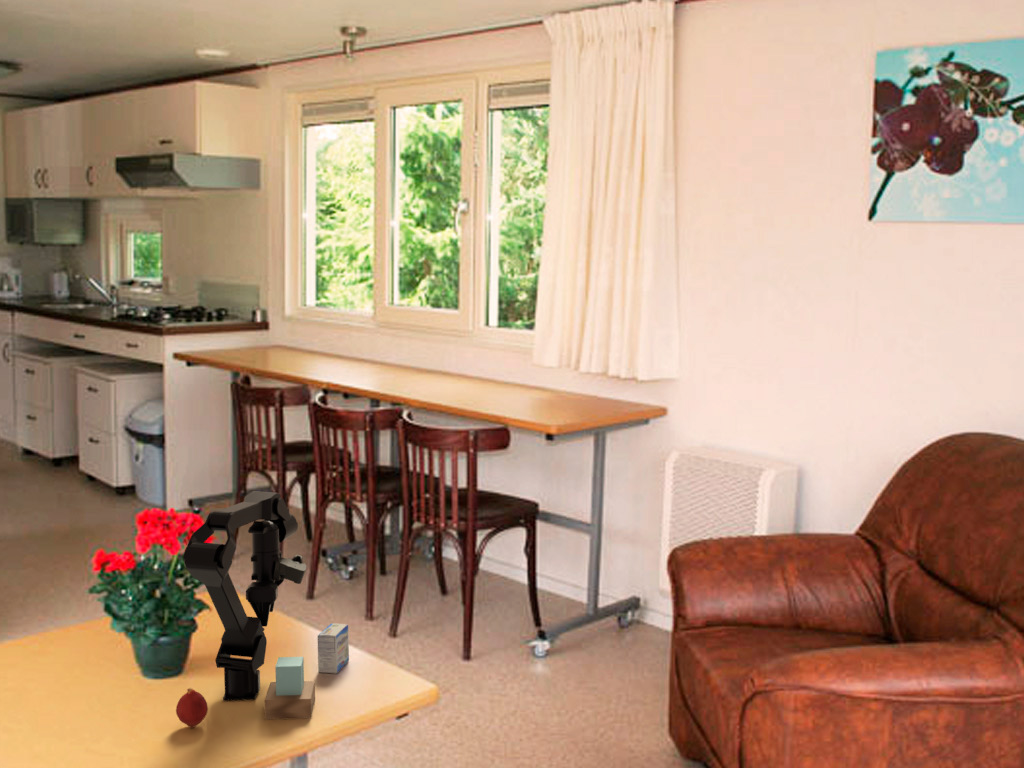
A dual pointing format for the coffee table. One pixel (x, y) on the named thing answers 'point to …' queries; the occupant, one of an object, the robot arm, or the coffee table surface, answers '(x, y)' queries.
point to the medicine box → (333, 648)
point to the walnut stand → (290, 703)
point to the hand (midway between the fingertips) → (267, 618)
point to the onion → (191, 708)
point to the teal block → (289, 676)
